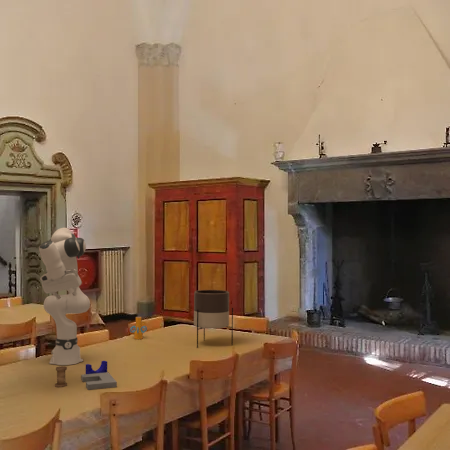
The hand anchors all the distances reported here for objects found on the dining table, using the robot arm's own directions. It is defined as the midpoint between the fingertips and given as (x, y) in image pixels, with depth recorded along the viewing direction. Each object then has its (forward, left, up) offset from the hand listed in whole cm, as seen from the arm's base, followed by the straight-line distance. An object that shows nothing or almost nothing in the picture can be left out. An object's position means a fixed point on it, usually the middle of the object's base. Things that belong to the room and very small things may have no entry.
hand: (67, 297), depth 300 cm
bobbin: (+7, -4, -43) cm, 43 cm away
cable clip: (-9, +17, -43) cm, 47 cm away
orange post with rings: (-96, +62, -43) cm, 122 cm away
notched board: (+9, +14, -43) cm, 46 cm away
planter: (-59, +101, -43) cm, 125 cm away
